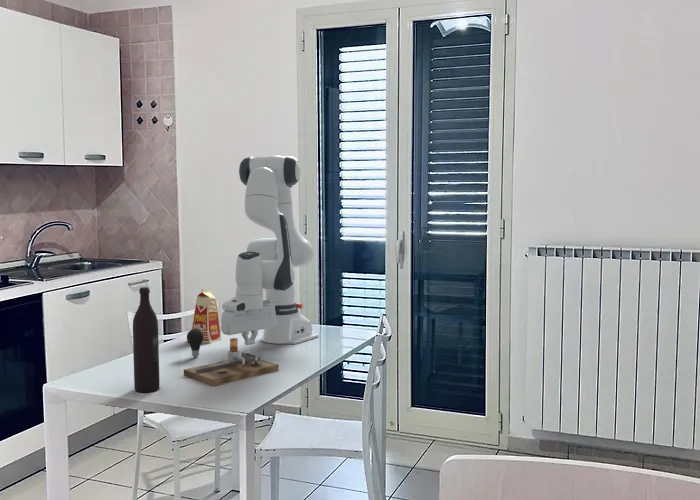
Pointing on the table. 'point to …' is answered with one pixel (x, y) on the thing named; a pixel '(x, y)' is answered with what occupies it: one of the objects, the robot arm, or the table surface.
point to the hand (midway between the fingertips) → (249, 344)
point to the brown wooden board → (231, 372)
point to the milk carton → (207, 317)
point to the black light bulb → (195, 341)
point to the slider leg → (235, 352)
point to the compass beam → (247, 355)
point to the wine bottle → (145, 346)
